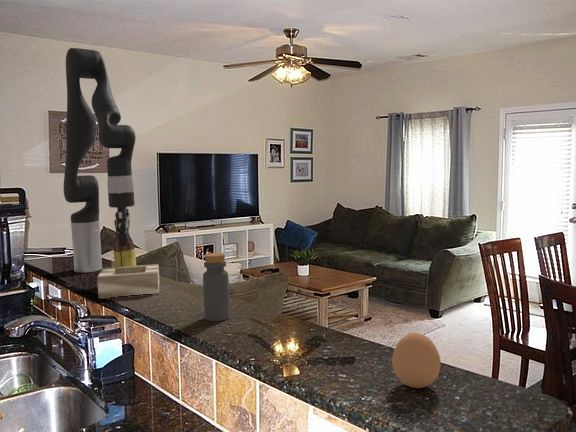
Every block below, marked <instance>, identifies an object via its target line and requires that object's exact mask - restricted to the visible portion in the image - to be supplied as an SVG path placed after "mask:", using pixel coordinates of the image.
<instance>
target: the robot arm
mask: <svg viewBox="0 0 576 432" xmlns="http://www.w3.org/2000/svg"><path fill="white" fill-rule="evenodd" d="M65 76H66V77H65V78H66V79H65V80H66V122H65V123H66V124H65V125H66V127H65V129H66V130H65V142H66V146H65V147H66V150H65V166H64V167H65V168H64V177H63V196H64V197H63V198H64V199H65V201H66V202H67V203H70V204H71V203H72V204H73V203H85V205H84V206H83V207H82V208H81V209H80V210H78V211H75V212H73V213H72V214H71V215H70V227H71V228H70V229H71V243H72V256H73V269H74V270H73V272H75V273H93V272H98V271H102V269H103V262H102V261H103V260H102V259H103V257H102V245H101V244H102V243H101V231H100V230H101V228H100V187H99V186H100V185H99V181H98V179H97V177H96V176H95V175H90V174H89V175H78V173H79V169H80V166H81V163H82V162H83V159H84V158H85V156H86V155H87V154H88V152H89V151H90V150H91V148H92V146H93V145H94V143H95V141H96V136H97V135H96V131H97V129H96V128H97V127H98V141H99V144H101V146H102V147H103V148H106V149H120V153H119V154H117V155H115V156H110V157H108V158H107V161H106V169H107V170H106V171H107V172H106V173H107V184H106V185H107V197H108V199H107V200H108V207H109V208H116V212H115V213H114V218H115V220H116V227H117V232H118V234H119V245H120V246H126V245H127V235H126V233H127V227H128V231H129V232H130V226H131V225H130V223H131V222H130V218H131V214H130V212H129V207H134V206H135V205H136V204H135V203H136V201H135V190H134V180H133V172H132V171H133V170H132V159H133V153H134V148H135V144H136V132H135V130H134V128H133V127H132V126H130V125H128V124H120V122H121V119H122V115H121V112H120V110H119V107H118V106H117V103H116V100H115V98H114V96H113V93H112V88H111V85H110V84H111V83H110V80H109V75H108V71H107V67H106V63H105V59H104V56H103V55H102V54H101V52H100V51H98V50H95V49H89V48H88V49H87V48H78V47H70V48H68V49H67V52H66V55H65ZM81 79H88V80H89V79H90V80H95V82H96V87H95V89H94V91H93V94H92V96H91V107H92V109H91V108H90V106H89V104H88V103H87V101H86V99H85V97H84V95H83V91H82V88H81V82H80V81H81ZM93 112H94V113H93ZM96 125H97V126H96ZM116 227H115V228H116ZM120 227H124V228H120Z"/></svg>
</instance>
